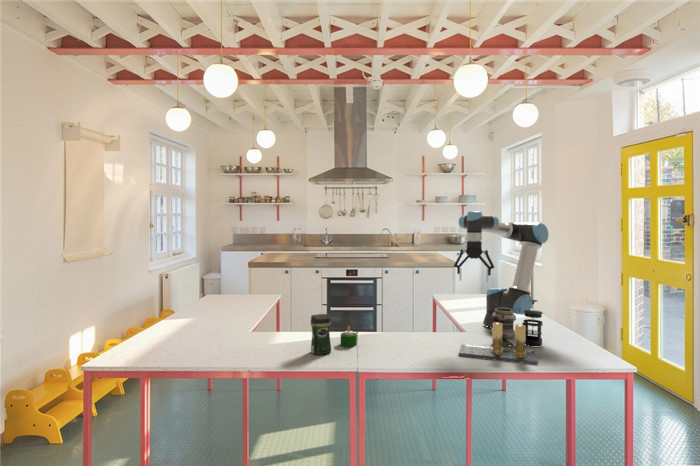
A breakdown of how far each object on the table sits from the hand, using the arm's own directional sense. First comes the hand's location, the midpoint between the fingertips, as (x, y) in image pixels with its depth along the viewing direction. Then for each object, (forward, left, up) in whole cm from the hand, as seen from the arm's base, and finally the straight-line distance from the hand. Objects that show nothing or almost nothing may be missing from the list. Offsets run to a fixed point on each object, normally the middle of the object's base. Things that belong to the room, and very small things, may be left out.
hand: (473, 281), depth 219 cm
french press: (+21, +20, -32) cm, 43 cm away
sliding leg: (+23, -10, -30) cm, 39 cm away
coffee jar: (-27, -77, -32) cm, 88 cm away
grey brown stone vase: (+12, +9, -32) cm, 35 cm away
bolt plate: (+22, -9, -32) cm, 40 cm away
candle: (-30, -59, -32) cm, 74 cm away
